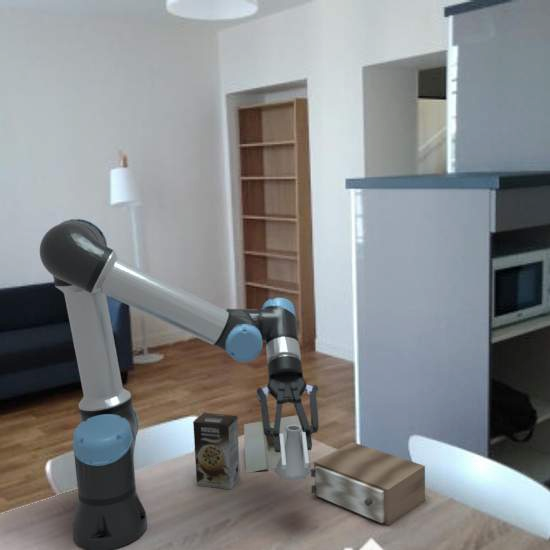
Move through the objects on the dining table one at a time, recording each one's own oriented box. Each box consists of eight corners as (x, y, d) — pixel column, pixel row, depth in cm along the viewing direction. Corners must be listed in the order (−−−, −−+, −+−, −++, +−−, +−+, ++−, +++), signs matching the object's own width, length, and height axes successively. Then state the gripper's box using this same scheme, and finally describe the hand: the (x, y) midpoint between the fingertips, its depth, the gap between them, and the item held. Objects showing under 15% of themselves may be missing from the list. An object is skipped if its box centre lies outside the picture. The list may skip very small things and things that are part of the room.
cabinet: (309, 498, 147) (308, 464, 146) (353, 473, 158) (352, 442, 157) (383, 529, 133) (382, 493, 132) (425, 499, 144) (424, 465, 143)
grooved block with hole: (314, 474, 167) (305, 421, 177) (311, 460, 160) (301, 406, 170) (251, 486, 168) (245, 432, 177) (245, 473, 161) (239, 418, 170)
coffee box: (195, 485, 155) (191, 421, 152) (206, 473, 161) (203, 411, 158) (231, 490, 152) (227, 424, 149) (241, 477, 158) (237, 414, 156)
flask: (293, 462, 140) (294, 418, 138) (317, 474, 134) (318, 428, 133) (268, 472, 135) (268, 426, 133) (292, 485, 130) (293, 437, 128)
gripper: (320, 368, 148) (334, 470, 134) (245, 372, 146) (252, 475, 132) (324, 352, 142) (339, 456, 128) (246, 356, 140) (253, 462, 126)
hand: (295, 466), depth 130 cm, fingers closed on flask, 4 cm apart
